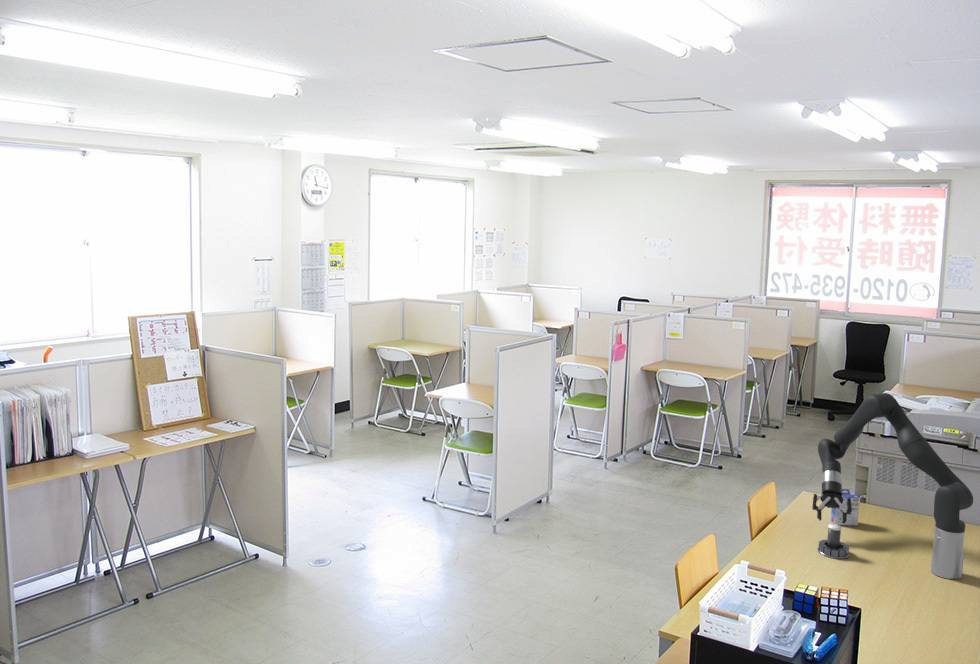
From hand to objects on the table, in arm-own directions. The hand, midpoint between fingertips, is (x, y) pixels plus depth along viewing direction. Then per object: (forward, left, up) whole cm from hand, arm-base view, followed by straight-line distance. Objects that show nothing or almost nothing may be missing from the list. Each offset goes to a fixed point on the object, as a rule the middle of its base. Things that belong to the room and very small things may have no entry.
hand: (831, 521), depth 307 cm
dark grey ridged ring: (0, +11, -9) cm, 14 cm away
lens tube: (0, +10, -8) cm, 13 cm away
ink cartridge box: (-7, -24, -9) cm, 27 cm away
